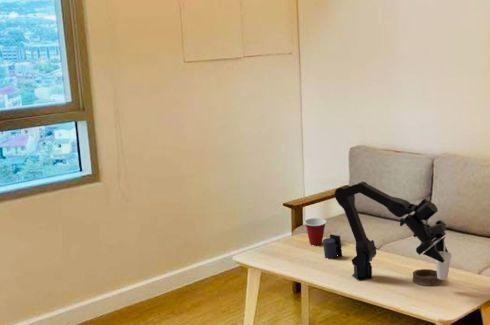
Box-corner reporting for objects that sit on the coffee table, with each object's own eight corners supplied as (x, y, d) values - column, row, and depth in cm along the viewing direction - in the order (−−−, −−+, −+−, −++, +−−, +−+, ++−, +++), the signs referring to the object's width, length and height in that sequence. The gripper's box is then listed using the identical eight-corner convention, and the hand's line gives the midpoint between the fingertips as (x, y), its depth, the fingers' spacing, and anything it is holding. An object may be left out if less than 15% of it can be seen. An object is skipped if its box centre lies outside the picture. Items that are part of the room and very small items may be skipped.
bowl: (422, 287, 248) (422, 280, 248) (406, 278, 259) (406, 271, 259) (448, 283, 251) (448, 276, 251) (431, 274, 262) (431, 267, 262)
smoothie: (448, 281, 238) (449, 246, 236) (431, 279, 241) (432, 243, 239) (453, 276, 243) (453, 241, 241) (436, 274, 247) (436, 239, 244)
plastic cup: (303, 247, 306) (303, 223, 305) (305, 241, 317) (304, 217, 315) (326, 247, 305) (326, 223, 303) (327, 241, 315) (326, 217, 313)
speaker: (334, 253, 295) (333, 232, 292) (342, 256, 290) (341, 235, 287) (321, 257, 291) (320, 236, 289) (329, 261, 287) (327, 240, 284)
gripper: (424, 220, 233) (454, 254, 229) (441, 209, 248) (469, 240, 244) (404, 238, 239) (432, 271, 234) (421, 226, 254) (448, 257, 249)
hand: (446, 259), depth 240 cm, fingers closed on smoothie, 6 cm apart
